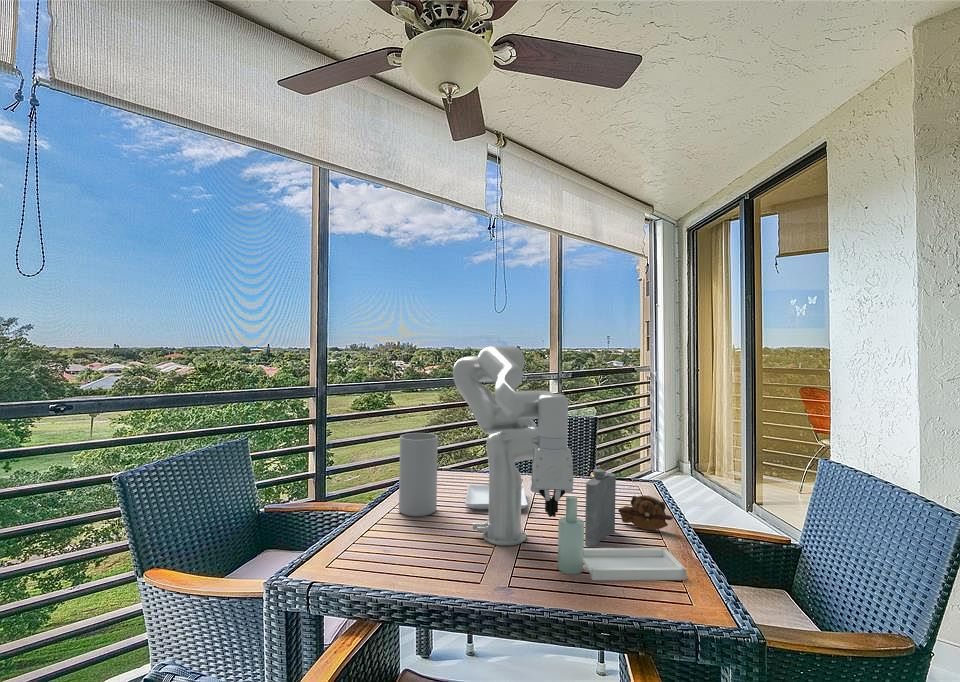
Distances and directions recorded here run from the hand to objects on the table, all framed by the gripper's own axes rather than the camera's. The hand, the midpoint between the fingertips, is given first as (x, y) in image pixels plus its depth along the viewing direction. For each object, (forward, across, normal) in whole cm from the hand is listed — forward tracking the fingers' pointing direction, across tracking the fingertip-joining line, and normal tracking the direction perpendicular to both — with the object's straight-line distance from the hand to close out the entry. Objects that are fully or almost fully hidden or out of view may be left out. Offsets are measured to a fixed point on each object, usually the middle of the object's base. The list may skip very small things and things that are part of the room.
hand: (551, 514), depth 129 cm
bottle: (+14, +5, 0) cm, 15 cm away
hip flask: (+14, +18, +20) cm, 30 cm away
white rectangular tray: (+14, +20, 0) cm, 24 cm away
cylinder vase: (+14, -37, +43) cm, 58 cm away
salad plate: (+14, -10, +52) cm, 55 cm away
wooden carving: (+14, +34, +28) cm, 46 cm away
